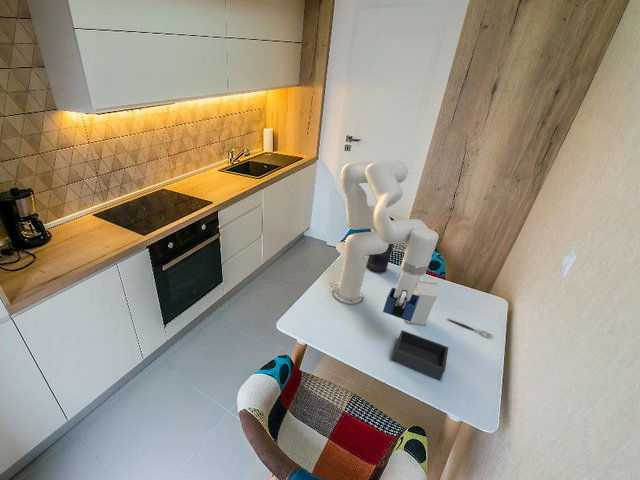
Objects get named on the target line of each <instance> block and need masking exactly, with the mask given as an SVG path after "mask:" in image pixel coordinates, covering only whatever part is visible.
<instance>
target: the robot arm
mask: <svg viewBox="0 0 640 480" xmlns="http://www.w3.org/2000/svg"><path fill="white" fill-rule="evenodd" d="M407 177H408V167H407V164H406V163H405V162H404V161H402V160H400V159H389V160H388V159H376V160H356V161H351V162H348V163H346V164H344V166H343V167H342V169H341V172H340V179H339V180H340V186H341V189H342V192H343V195H344V202H345V215H346V224H347V226H348V228H349V229H351V230H357V231H358V230H370V231H364V232H354V233H351V234H349V235H348V236H347V237H346V238H345V241H344V258H343V263H342V267H341V273H340V277H339V282H335V281H332V280H330V281H329V284H328V285H329V288H331V289H333V296H334V297H335V299H336V300H338V301H340V302H341V303H344V304H349V305H355V304H359V303H360V302H362V300H363V293H362V292H361V288H362V285H363V280H364V278H365V273H366V270H367V261H366V259H365V258H364V257H365V256H370V255H372V254H381V253H384V252H385V251H386V250H387V249H388V246H389V244H393V245H396V244H406V243H407V245H406V249H405V252H404V254H403V258H402V260H401V262H400V263H401V264H400V267H399V268H400V270H401V271H402V272H401V274H400V276H399V279H398V282H397V285H396V287H395V289H396V291H395V294H394V297H395V298H398V299H397V302H396V304H395V306H394V309H393V312H392V314H393V315H396V316H399V317H402V315H403V313H404V310H405V304H406V302H408V301H409V300H410V298H411V296H412V294H413V292H414V290H415V288H416V285H417V283H418V280H420V278H421V277H423V276H425V275H426V274H427V270H428V268H429V266H430V262H431V260H432V258H433V255H434V252H435V250H436V247H437V244H438V242H439V236H440V235H439V233H438V232H436V231H435V230H434V229H431V228H430V227H428V226H427V224H426V223H425V222H424V221H423V220H421V219H419V218H409V219H408V218H407V219H394V220H392V219H391V217H390V215H389V214H388V211H387V209H388V208H390V207H391V206H394V205H395V204H396V203H398V202H399V201H400V200H401V199H402V197H403V195H404V190H403V189H402V187H401V185H400V184H401V183H403V182H404V181H406V180H407ZM360 184H368V185H369V187H370V190H371V192H372V193H373V195H374V198H375V200H376V201H377V203H376V205H369V204H368V196H367V193H366V191H365V189H364V188H363V187H362V186H361V185H360ZM400 296H401V297H400ZM405 297H406V299H405ZM399 299H400V300H399ZM404 301H405V302H404ZM403 302H404V304H403ZM393 315H392V316H393ZM396 316H395V317H396Z"/></svg>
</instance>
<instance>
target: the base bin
mask: <svg viewBox="0 0 640 480" xmlns="http://www.w3.org/2000/svg"><path fill="white" fill-rule="evenodd" d="M448 352H449V347H448V346H446V345H443V344H441V343H438V342H435V341H432V340H430V339H428V338H424V337H423V336H419V335H417V334H414V333H412V332H409V331H405V330H400V333H399V336H398V338H397V342H396V345H395V348H394V350H393V354H392V356H391V359H390V361H392V362H394V363H397V364H399V365H401V366H404V367H406V368H409V369H411V370H414V371H416V372H418V373H421V374H423V375H426V376H428V377H431V378H433V379H435V380H438V381H440V380H441V378H442V377H443V375H444V374H445V371H446V366H447V360H448V355H449V353H448Z"/></svg>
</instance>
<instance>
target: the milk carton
mask: <svg viewBox="0 0 640 480" xmlns="http://www.w3.org/2000/svg"><path fill="white" fill-rule="evenodd" d="M438 283H439V282H438V281H437V282H436V281H429V280H420V279H419V280H418V283H417V285H416V288H415V290H414V292H413V294H414V295H418V296H420V297H419V300H418V303H417V306H416V309H415V311H414V314H413V316H412V319H411V322H410V321H407V320H405V323H407V324H413V325H414V324H415V325H421V326H425V325H426V323H427V320H428V318H429V316H430V313H431V312H432V309H433V306H434V304H435V302H436V300H437V297H438Z"/></svg>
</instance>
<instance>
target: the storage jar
mask: <svg viewBox="0 0 640 480" xmlns="http://www.w3.org/2000/svg"><path fill="white" fill-rule="evenodd" d="M393 248H394V244H389V246H388V249H387V250H386V251H385V252H384V253H381V254H372V255H368V258H367V261H366V270H368V271H370V272H372V273H376V274H383V273H385V272H386V271H387V267H388V265H389V260H390V256H391V255H392V252H393Z"/></svg>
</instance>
